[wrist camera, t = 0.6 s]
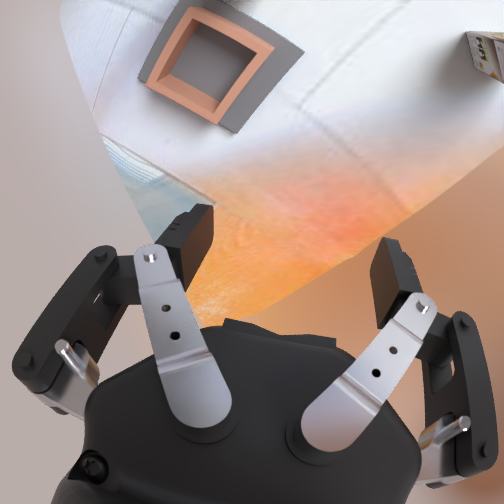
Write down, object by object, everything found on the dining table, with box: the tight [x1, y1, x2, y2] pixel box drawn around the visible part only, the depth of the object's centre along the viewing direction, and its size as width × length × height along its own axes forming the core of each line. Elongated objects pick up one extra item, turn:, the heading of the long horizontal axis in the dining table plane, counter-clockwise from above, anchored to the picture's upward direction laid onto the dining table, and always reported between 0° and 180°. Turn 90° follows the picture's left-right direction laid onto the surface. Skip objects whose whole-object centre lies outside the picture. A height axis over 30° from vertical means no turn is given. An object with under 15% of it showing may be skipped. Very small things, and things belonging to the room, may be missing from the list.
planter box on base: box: [138, 0, 305, 134], centre depth 29 cm, size 18×16×6 cm
